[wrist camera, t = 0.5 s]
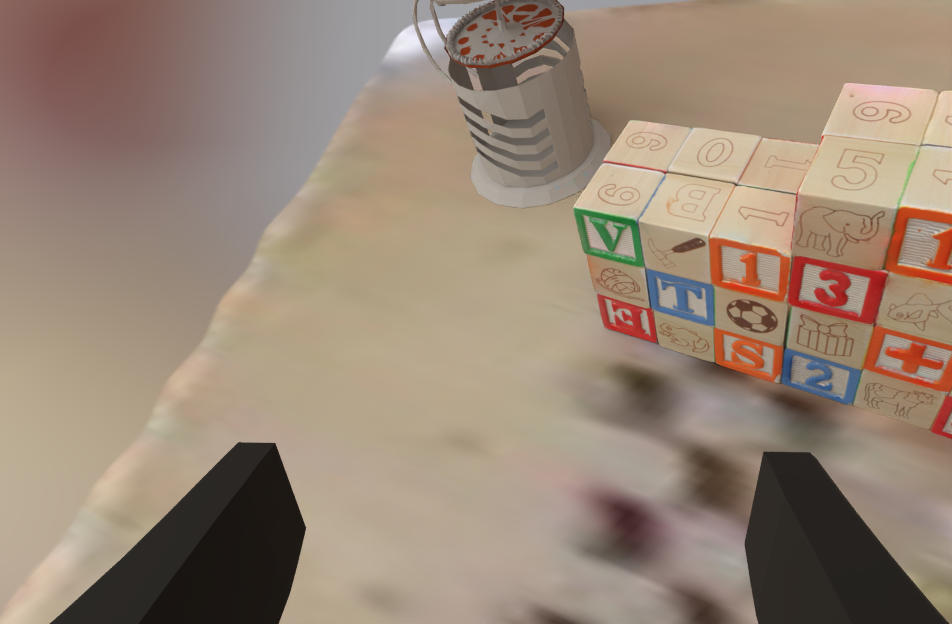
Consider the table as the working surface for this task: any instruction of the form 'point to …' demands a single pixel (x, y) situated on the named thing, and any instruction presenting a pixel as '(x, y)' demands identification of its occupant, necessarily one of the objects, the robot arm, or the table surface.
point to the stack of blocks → (790, 250)
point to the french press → (522, 101)
